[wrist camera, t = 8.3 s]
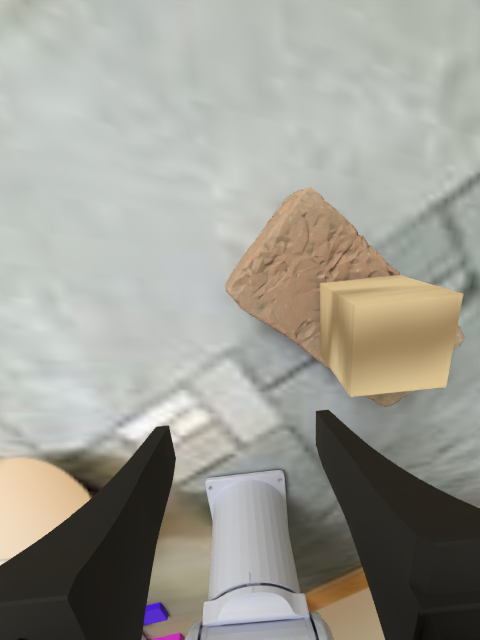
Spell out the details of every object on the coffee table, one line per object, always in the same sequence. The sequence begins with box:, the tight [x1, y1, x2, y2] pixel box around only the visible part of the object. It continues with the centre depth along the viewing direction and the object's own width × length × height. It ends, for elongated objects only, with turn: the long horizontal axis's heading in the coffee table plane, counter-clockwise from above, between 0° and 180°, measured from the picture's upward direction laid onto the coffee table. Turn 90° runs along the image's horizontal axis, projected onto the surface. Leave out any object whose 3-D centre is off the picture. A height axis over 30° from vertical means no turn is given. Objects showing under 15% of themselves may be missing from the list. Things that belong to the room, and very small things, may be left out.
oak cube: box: [320, 275, 463, 397], centre depth 15 cm, size 5×5×5 cm
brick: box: [226, 187, 465, 407], centre depth 20 cm, size 17×8×5 cm, turn 53°
